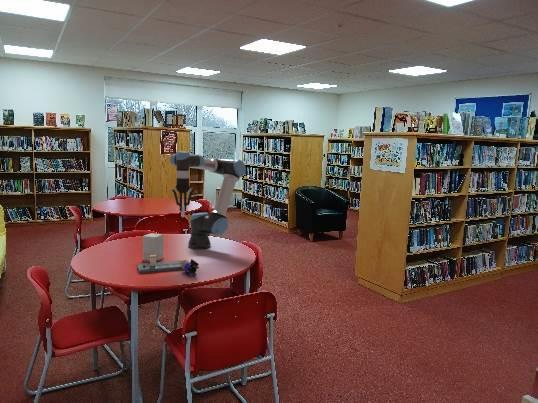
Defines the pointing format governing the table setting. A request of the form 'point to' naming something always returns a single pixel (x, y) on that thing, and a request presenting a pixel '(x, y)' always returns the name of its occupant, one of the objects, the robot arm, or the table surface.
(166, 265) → the panel
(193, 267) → the character figurine
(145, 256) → the supplement box
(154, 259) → the block
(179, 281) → the table surface
